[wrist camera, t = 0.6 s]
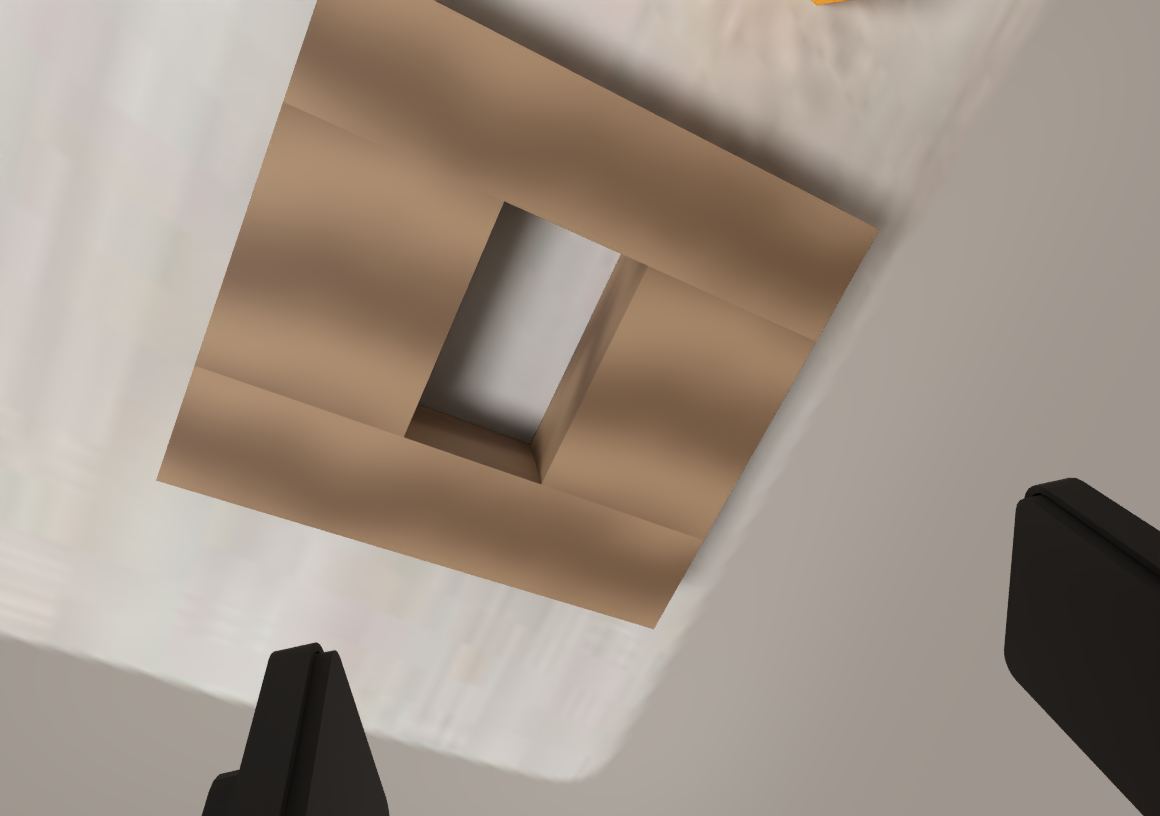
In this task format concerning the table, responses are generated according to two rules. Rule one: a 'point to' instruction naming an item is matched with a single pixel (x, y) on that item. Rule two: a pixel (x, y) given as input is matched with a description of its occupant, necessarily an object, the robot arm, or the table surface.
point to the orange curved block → (826, 1)
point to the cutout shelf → (435, 291)
